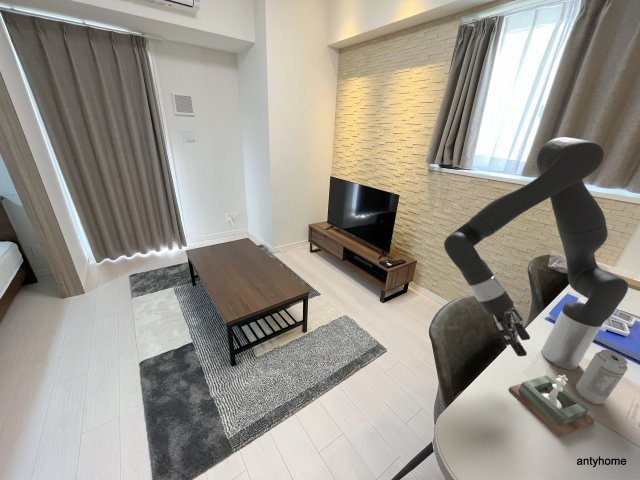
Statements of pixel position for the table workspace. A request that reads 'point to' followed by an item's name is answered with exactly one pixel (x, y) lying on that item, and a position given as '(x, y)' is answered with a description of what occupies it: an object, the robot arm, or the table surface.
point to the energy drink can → (601, 376)
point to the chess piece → (556, 391)
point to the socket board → (546, 420)
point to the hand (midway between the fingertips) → (524, 347)
